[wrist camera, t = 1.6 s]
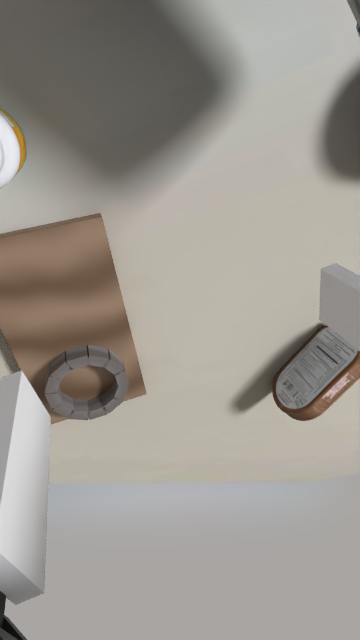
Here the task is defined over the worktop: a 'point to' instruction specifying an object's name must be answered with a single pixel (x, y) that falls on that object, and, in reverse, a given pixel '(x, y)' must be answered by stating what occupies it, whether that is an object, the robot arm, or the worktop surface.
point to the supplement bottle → (10, 148)
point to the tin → (316, 375)
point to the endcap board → (68, 318)
